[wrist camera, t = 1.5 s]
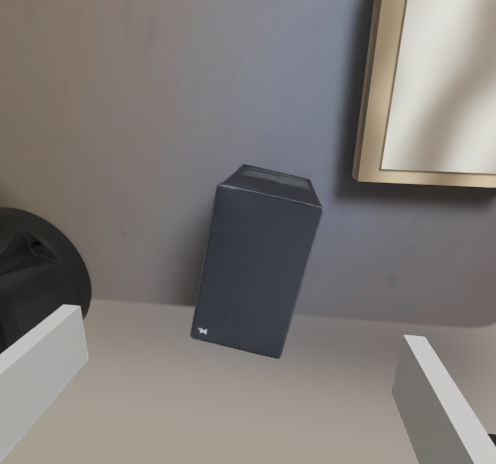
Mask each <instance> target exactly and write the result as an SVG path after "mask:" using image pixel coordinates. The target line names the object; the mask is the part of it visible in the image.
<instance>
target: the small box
mask: <svg viewBox="0 0 496 464" xmlns="http://www.w3.org/2000/svg"><path fill="white" fill-rule="evenodd" d="M323 211H324V210H323V208H322V206H321V203H320V201H319V199H318V197H317V195H316V193H315V190H314V188H313V186H312V183H311V181H310V180H309V179H305V178H301V177H297V176H293V175H288V174H284V173H280V172H276V171H271V170H267V169H262V168H258V167H254V166H249V165H245V164H243V165H241V166H240V168H239V169H238V170H237V171H236V172H235V173H233V174H232V175H231V176H230V177H229V178H227V179H226V180H225V181H223V182H222V183H219V184H218V185H217V188H216V194H215V199H214V205H213V210H212V216H211V221H210V227H209V233H208V238H207V243H206V249H205V255H204V260H203V266H202V271H201V277H200V284H199V289H198V294H197V300H196V305H195V311H194V317H193V323H192V329H191V334H190V335H191V337H192V338H193V339H197V340H201V341H205V342H209V343H214V344H218V345H221V346H226V347H230V348H234V349H238V350H242V351H247V352H250V353H254V354H258V355H263V356H267V357H271V358H275V359H279V358H280V357H281V354H282V351H283V347H284V344H285V340H286V337H287V333H288V330H289V327H290V323H291V320H292V316H293V313H294V310H295V306H296V303H297V299H298V296H299V292H300V289H301V286H302V282H303V279H304V275H305V272H306V269H307V265H308V262H309V259H310V255H311V252H312V249H313V245H314V242H315V239H316V235H317V232H318V228H319V225H320V222H321V218H322V215H323Z"/></svg>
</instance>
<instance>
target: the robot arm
mask: <svg viewBox="0 0 496 464" xmlns="http://www.w3.org/2000/svg"><path fill="white" fill-rule="evenodd" d="M90 301H91V284H90V279H89V275H88V272H87V269H86V266H85V264H84V262H83V260H82V258H81V256H80V254H79V253H78V251H77V250H76V248H75V247H74V245H73V244H72V243H71V242H70V241H69V239H68V238H67V237H66V236H65V235H64V234H63V233H62V232H61V231H59V230H58V229H57V228H56V227H55V226H53V225H52V224H51V223H49V222H47V221H46V220H44V219H42V218H41V217H39V216H37V215H34V214H32V213H29V212H26V211H23V210H19V209H14V208H0V462H1V461H2V460H3V459H4V458H5V456H6V455H7V454H8V453H9V452H10V451H11V450H12V448H13V447H14V446H15V445H16V444H17V443H18V441H19V440H20V439H21V438H22V437H23V435H24V434H25V433H26V432H27V431H28V430H29V429H30V427H31V426H32V425H33V424H34V423H35V422H36V420H37V419H38V418H39V417H40V416H41V415H42V414H43V412H44V411H45V410H46V409H47V408H48V407H49V405H50V404H51V403H52V402H53V401H54V399H55V398H56V397H57V396H58V395H59V394H60V393H61V391H62V390H63V389H64V388H65V387H66V386H67V385H68V383H69V382H70V381H71V380H72V379H73V377H74V376H75V375H76V374H77V373H78V372H79V370H80V369H81V368H82V367H83V366H84V365H85V364H86V362H87V361H88V360H89V356H88V350H87V343H86V337H85V331H84V325H83V320H84V318H85V316H86V314H87V312H88V309H89V305H90ZM392 394H393V397H394V399H395V402H396V405H397V407H398V410H399V412H400V415H401V418H402V420H403V423H404V425H405V428H406V430H407V433H408V436H409V438H410V441H411V443H412V446H413V448H414V451H415V454H416V457H417V459H418V462H419V464H496V435H495V434H487V432H486V431H485V429H484V428H483V426H482V425H481V423H480V422H479V420H478V419H477V417H476V416H475V414H474V412H473V411H472V409H471V408H470V406H469V405H468V403H467V401H466V400H465V398H464V397H463V395H462V394H461V392H460V391H459V389H458V388H457V386H456V384H455V383H454V381H453V380H452V378H451V377H450V375H449V374H448V372H447V370H446V369H445V367H444V366H443V364H442V363H441V361H440V360H439V358H438V357H437V355H436V353H435V352H434V350H433V349H432V347H431V346H430V344H429V343H428V341H427V339H426V338H425V337H423V336H412V335H403V340H402V344H401V349H400V354H399V359H398V364H397V369H396V374H395V379H394V383H393V388H392Z"/></svg>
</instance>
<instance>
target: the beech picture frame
mask: <svg viewBox="0 0 496 464" xmlns="http://www.w3.org/2000/svg"><path fill="white" fill-rule="evenodd" d="M352 177H353V178H354V179H355V180H357V181H361V182H383V183H404V184H426V185H448V186H470V187H492V188H496V0H374V6H373V14H372V21H371V29H370V37H369V45H368V53H367V60H366V68H365V76H364V84H363V92H362V100H361V107H360V115H359V123H358V131H357V139H356V147H355V154H354V162H353V170H352Z"/></svg>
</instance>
